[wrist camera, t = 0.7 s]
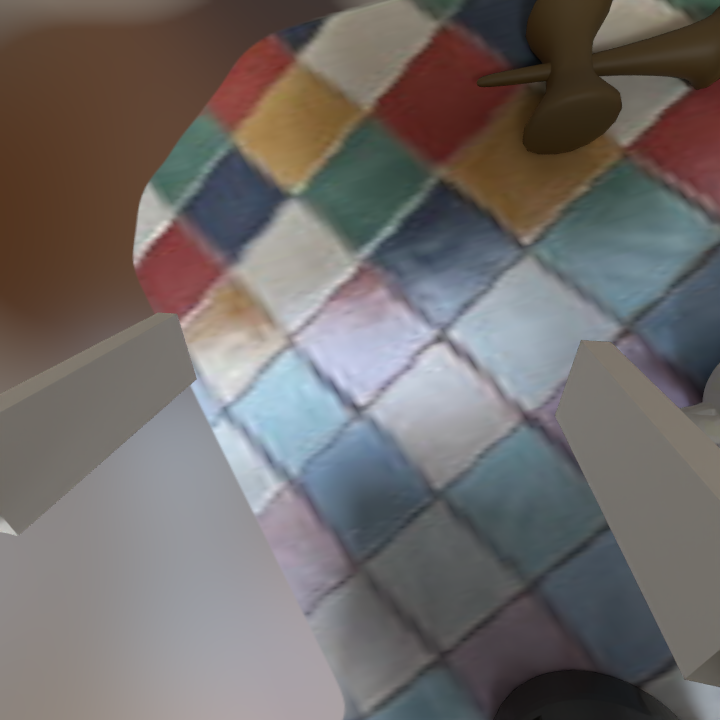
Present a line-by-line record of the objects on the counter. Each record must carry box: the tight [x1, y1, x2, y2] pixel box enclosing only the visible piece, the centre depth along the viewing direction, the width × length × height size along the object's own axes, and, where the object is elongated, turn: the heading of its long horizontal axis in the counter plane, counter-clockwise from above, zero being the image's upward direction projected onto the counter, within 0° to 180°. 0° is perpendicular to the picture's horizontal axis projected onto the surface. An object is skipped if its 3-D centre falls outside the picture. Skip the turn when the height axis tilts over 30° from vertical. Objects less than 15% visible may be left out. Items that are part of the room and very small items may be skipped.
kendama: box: [477, 0, 720, 154], centre depth 23 cm, size 6×10×20 cm
